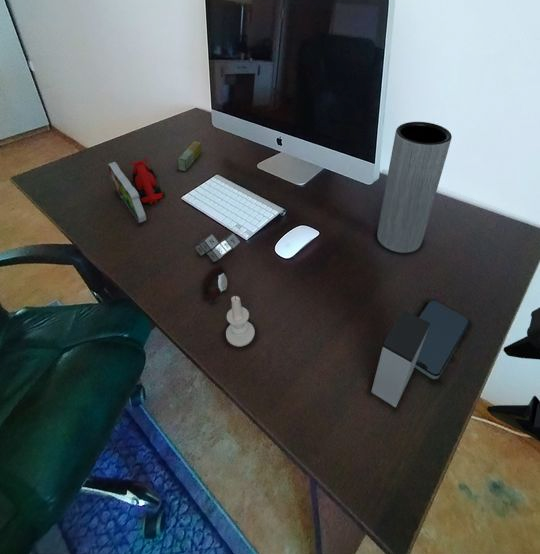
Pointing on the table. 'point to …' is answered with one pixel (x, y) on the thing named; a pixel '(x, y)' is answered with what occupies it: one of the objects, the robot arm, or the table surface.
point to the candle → (239, 324)
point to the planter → (412, 184)
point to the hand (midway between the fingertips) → (497, 379)
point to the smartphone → (439, 338)
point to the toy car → (145, 182)
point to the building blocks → (216, 246)
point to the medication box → (189, 156)
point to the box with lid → (399, 357)
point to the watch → (221, 282)
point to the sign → (127, 192)
